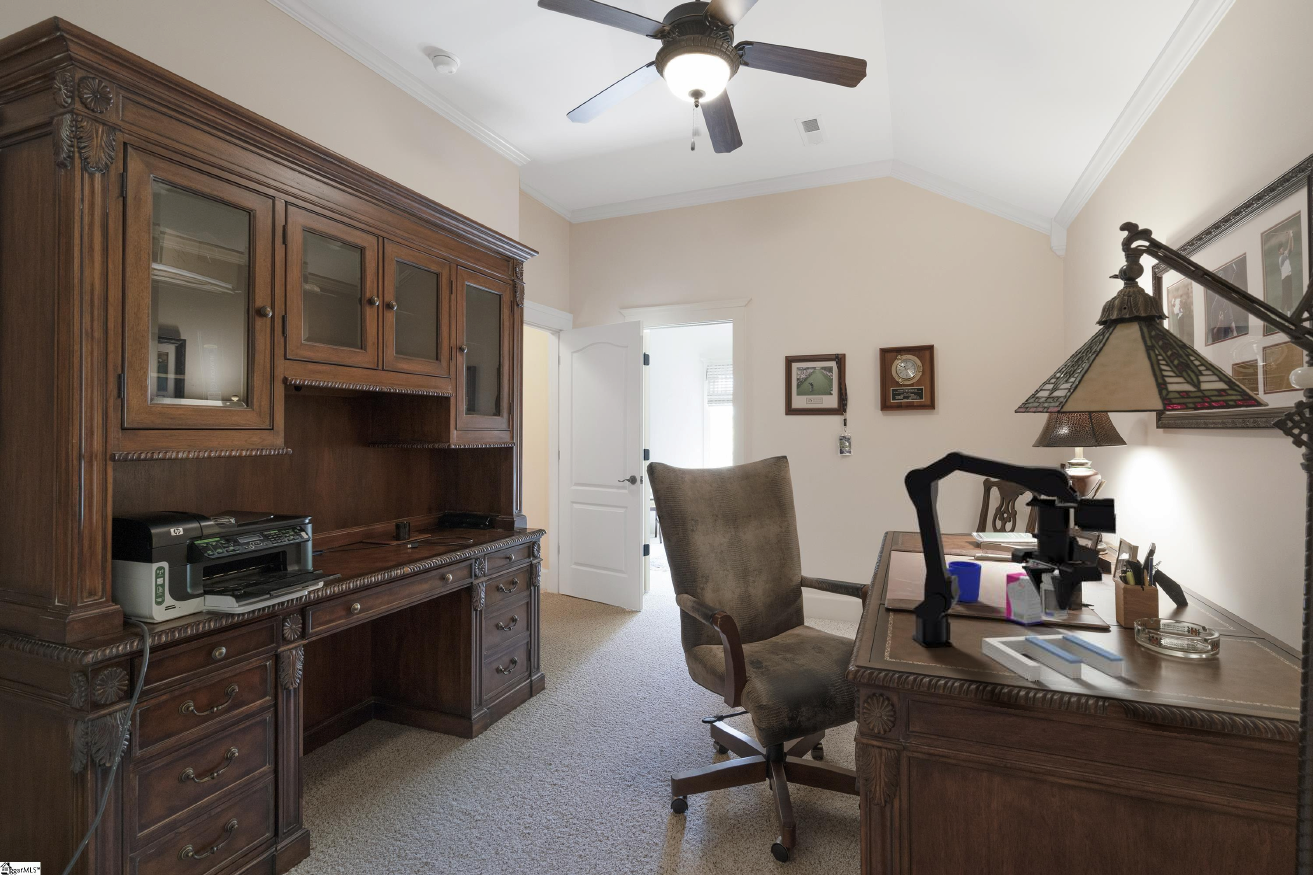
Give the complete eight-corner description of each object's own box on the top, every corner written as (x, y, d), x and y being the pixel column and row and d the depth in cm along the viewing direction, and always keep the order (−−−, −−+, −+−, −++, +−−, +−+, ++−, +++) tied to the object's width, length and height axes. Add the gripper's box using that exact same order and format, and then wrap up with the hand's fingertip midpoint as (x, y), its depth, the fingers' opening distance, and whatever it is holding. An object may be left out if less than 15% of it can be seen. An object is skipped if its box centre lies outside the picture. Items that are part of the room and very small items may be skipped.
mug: (930, 598, 173) (930, 563, 173) (965, 594, 177) (965, 559, 176) (952, 607, 165) (952, 570, 165) (988, 602, 169) (988, 566, 169)
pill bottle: (1073, 618, 124) (1073, 576, 123) (1053, 620, 123) (1053, 578, 122) (1054, 611, 128) (1054, 571, 128) (1034, 613, 127) (1034, 572, 127)
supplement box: (1043, 622, 152) (1043, 576, 152) (1026, 626, 150) (1026, 579, 149) (1021, 615, 157) (1021, 571, 157) (1004, 619, 155) (1004, 573, 155)
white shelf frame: (1030, 681, 119) (1030, 662, 119) (982, 652, 134) (982, 635, 134) (1123, 676, 120) (1123, 657, 120) (1065, 647, 135) (1065, 631, 135)
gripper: (1129, 536, 116) (1129, 618, 117) (1058, 520, 135) (1058, 592, 135) (1073, 538, 116) (1073, 621, 116) (1009, 522, 134) (1010, 594, 135)
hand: (1054, 606), depth 125 cm, fingers closed on pill bottle, 5 cm apart
